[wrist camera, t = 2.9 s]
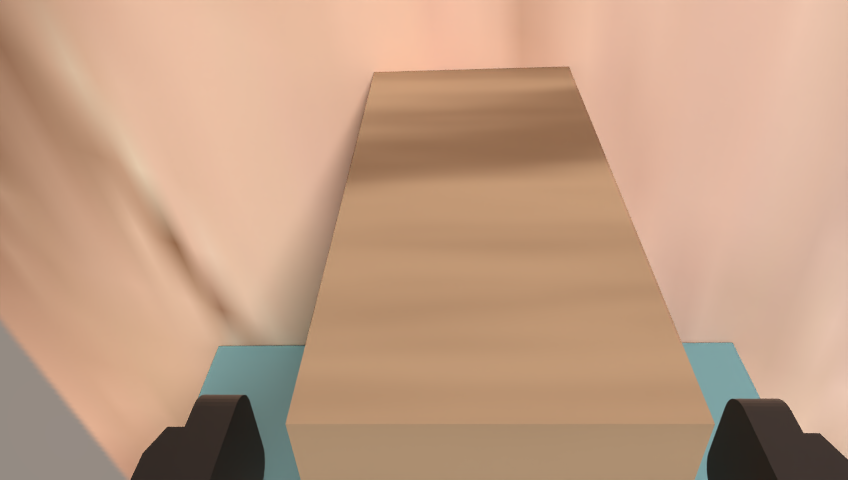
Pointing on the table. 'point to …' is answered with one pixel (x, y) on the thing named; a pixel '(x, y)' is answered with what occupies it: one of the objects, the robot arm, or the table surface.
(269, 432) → the teal board
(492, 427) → the wooden block
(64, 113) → the table surface
